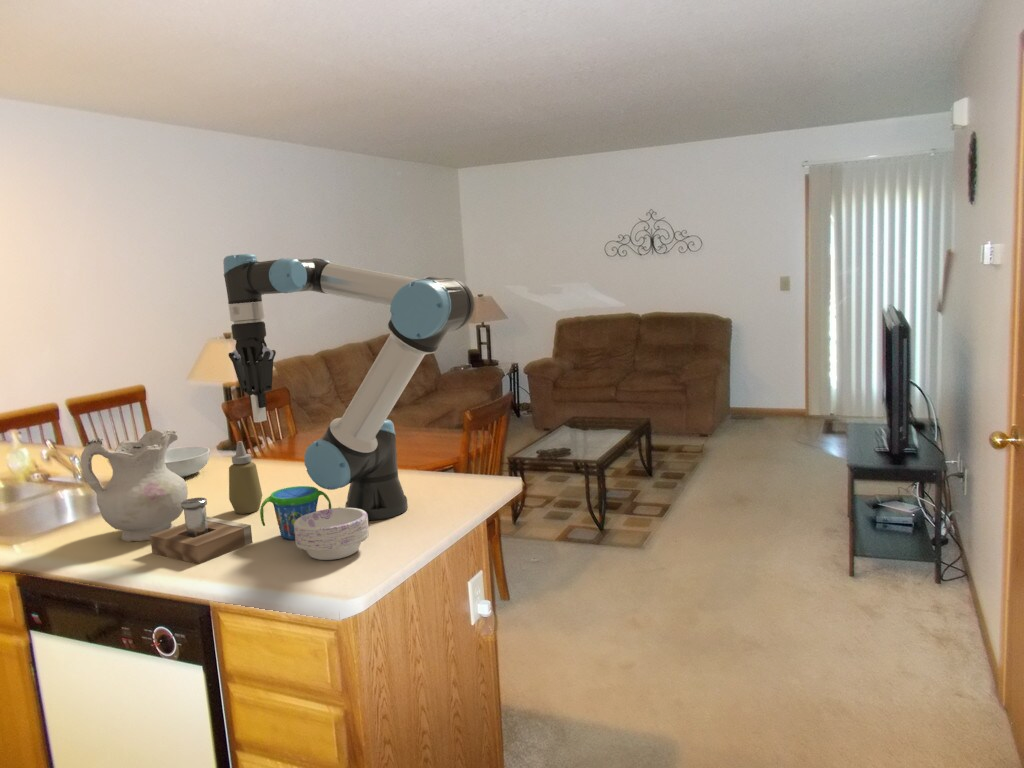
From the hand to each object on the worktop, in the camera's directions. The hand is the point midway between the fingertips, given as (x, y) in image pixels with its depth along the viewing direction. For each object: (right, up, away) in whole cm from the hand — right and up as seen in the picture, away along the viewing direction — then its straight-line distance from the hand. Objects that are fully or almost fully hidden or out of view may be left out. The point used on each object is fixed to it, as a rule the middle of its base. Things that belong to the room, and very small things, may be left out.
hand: (260, 421), depth 187 cm
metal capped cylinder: (-9, -28, -13) cm, 32 cm away
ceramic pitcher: (-27, -27, -1) cm, 39 cm away
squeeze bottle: (-8, -24, +14) cm, 28 cm away
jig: (-9, -28, -13) cm, 32 cm away
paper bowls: (+22, -27, -20) cm, 40 cm away
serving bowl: (-43, -20, +55) cm, 73 cm away
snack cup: (+11, -26, -7) cm, 29 cm away
